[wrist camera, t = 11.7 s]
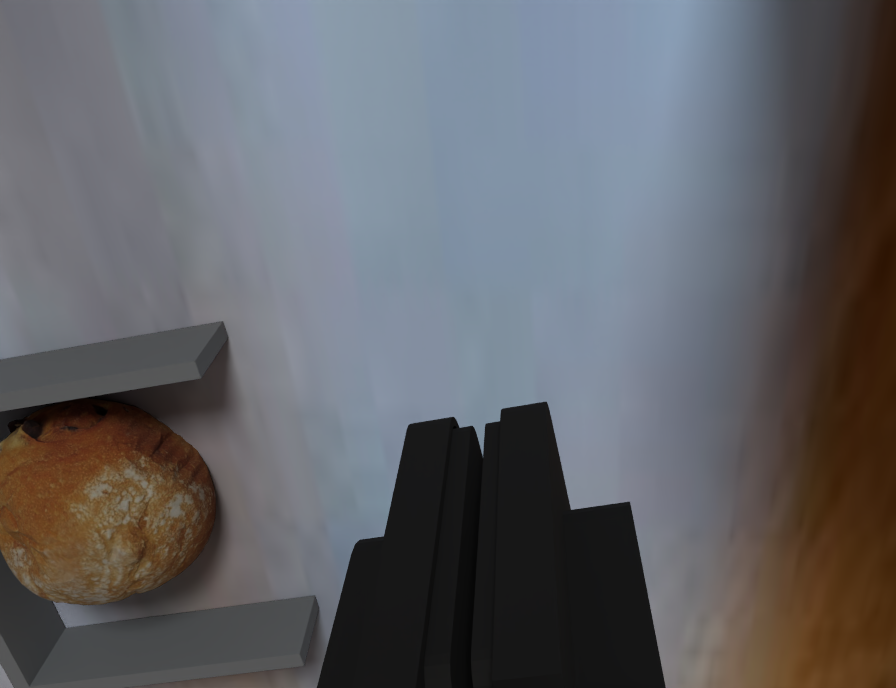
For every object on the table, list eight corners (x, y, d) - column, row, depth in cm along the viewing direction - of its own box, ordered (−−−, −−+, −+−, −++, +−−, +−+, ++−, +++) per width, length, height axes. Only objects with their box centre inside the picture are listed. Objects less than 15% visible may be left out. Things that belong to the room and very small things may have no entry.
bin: (222, 321, 37) (194, 360, 34) (318, 607, 44) (303, 666, 40) (-80, 373, 39) (-137, 416, 35) (57, 640, 46) (21, 700, 42)
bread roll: (111, 522, 47) (99, 661, 42) (-57, 442, 40) (-98, 597, 34) (250, 444, 44) (257, 581, 39) (97, 344, 37) (79, 494, 32)
